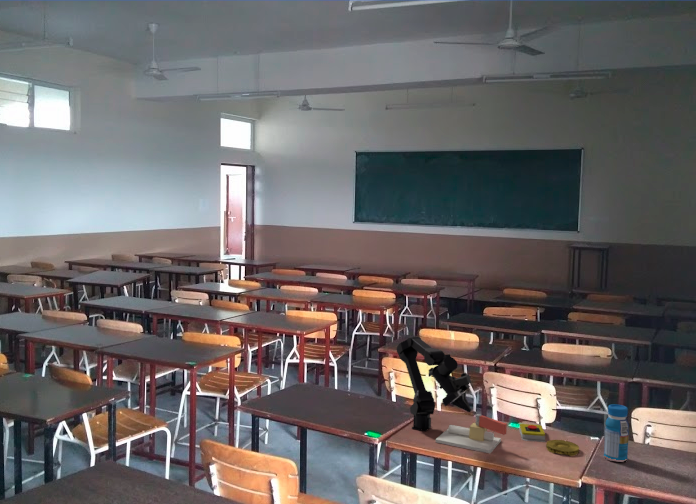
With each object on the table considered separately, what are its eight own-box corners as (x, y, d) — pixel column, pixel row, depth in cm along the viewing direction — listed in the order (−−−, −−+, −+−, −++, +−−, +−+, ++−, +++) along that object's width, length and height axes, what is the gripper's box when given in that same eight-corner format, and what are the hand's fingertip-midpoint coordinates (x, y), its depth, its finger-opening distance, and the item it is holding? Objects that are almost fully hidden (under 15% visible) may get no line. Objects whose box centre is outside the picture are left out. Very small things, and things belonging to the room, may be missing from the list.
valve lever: (474, 424, 250) (474, 414, 250) (478, 423, 252) (478, 413, 251) (503, 434, 239) (503, 424, 239) (506, 433, 240) (507, 423, 240)
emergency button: (522, 430, 252) (518, 419, 267) (522, 441, 252) (518, 429, 267) (546, 432, 250) (541, 420, 265) (546, 443, 251) (540, 430, 265)
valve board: (435, 442, 248) (435, 426, 248) (448, 431, 261) (448, 416, 261) (490, 453, 237) (490, 437, 237) (500, 441, 251) (501, 426, 250)
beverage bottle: (603, 461, 232) (605, 408, 231) (603, 453, 240) (605, 402, 239) (628, 465, 229) (630, 411, 228) (627, 457, 237) (629, 405, 236)
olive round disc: (547, 443, 250) (547, 437, 250) (579, 447, 246) (579, 442, 246) (545, 453, 239) (545, 448, 239) (578, 458, 235) (578, 453, 235)
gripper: (451, 372, 238) (478, 405, 233) (465, 362, 254) (491, 393, 250) (431, 389, 242) (457, 422, 237) (446, 379, 258) (471, 409, 254)
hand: (470, 411), depth 244 cm, fingers closed
